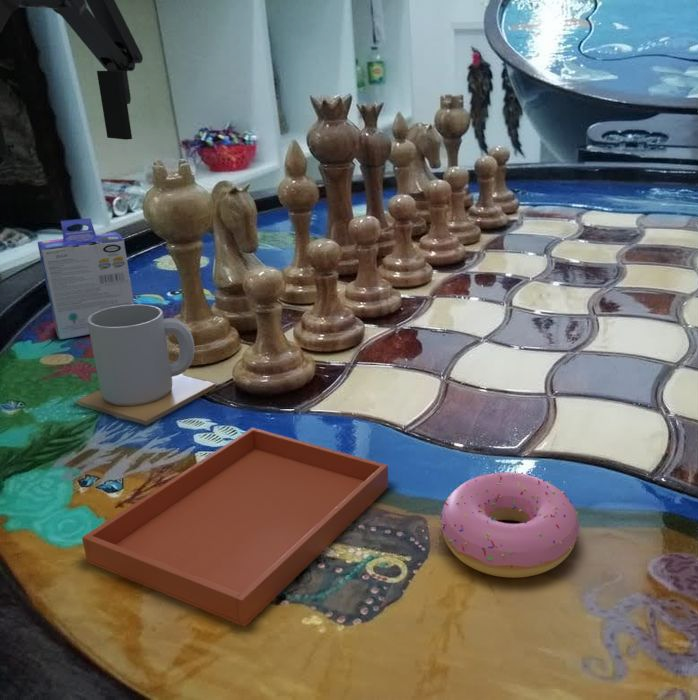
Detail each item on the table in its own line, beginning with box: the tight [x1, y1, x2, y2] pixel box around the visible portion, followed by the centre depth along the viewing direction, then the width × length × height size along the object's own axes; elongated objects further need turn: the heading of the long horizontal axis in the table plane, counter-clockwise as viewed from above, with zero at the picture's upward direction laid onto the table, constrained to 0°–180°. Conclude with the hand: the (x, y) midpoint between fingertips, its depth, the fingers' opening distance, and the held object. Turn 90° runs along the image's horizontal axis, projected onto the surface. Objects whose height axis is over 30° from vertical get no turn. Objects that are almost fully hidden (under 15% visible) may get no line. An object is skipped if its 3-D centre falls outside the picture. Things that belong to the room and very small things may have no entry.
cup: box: [87, 303, 196, 406], centre depth 79 cm, size 7×10×9 cm
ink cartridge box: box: [37, 217, 135, 340], centre depth 96 cm, size 10×6×14 cm, turn 124°
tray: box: [81, 427, 389, 628], centre depth 60 cm, size 15×19×2 cm
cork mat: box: [76, 374, 217, 427], centre depth 80 cm, size 10×10×1 cm
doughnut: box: [438, 470, 580, 579], centre depth 58 cm, size 11×11×4 cm
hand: (61, 145), depth 70 cm, fingers open, 13 cm apart
